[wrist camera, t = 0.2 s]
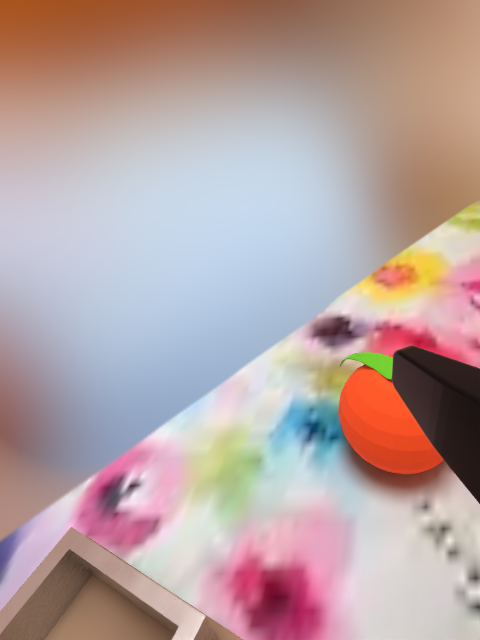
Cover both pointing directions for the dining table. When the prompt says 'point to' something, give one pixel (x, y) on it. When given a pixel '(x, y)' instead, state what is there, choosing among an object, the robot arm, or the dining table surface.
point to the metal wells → (70, 577)
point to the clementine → (382, 420)
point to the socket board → (113, 618)
